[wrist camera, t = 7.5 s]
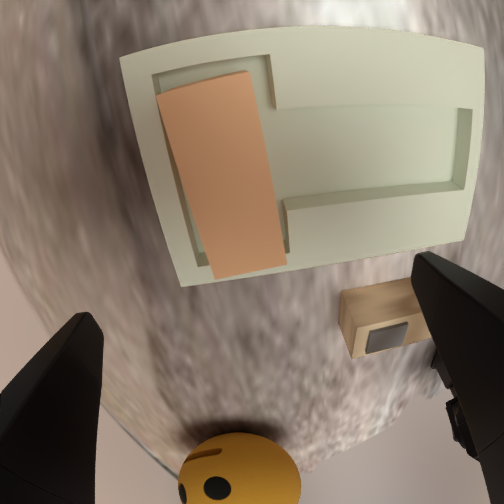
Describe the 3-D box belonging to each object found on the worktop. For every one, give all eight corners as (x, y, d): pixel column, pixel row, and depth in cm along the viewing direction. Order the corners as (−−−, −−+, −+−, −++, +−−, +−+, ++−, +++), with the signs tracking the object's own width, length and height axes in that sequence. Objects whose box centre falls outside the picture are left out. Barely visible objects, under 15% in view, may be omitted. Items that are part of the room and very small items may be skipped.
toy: (237, 400, 31) (247, 534, 18) (313, 430, 38) (332, 527, 25) (157, 434, 36) (153, 535, 23) (235, 459, 43) (241, 541, 30)
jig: (459, 45, 13) (483, 48, 11) (446, 222, 20) (463, 240, 18) (133, 57, 13) (119, 57, 11) (184, 263, 20) (181, 287, 18)
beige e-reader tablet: (446, 267, 23) (472, 300, 19) (437, 298, 25) (459, 331, 21) (340, 289, 23) (358, 331, 19) (337, 321, 25) (352, 362, 22)
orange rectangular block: (244, 70, 13) (249, 71, 10) (276, 228, 18) (287, 264, 15) (170, 88, 13) (155, 96, 10) (215, 241, 18) (215, 279, 15)
